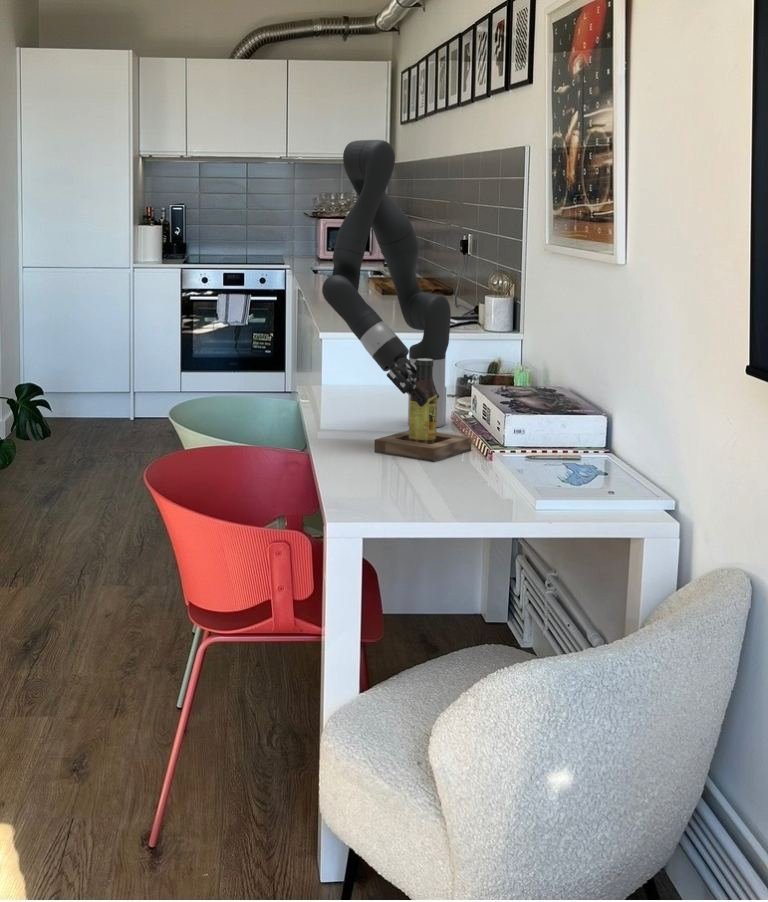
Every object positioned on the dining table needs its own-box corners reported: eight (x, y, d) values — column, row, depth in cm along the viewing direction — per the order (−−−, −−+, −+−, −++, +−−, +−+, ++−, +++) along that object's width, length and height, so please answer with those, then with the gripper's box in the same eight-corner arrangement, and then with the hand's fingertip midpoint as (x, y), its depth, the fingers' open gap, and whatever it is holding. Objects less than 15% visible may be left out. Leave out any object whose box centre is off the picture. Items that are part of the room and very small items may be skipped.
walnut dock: (413, 441, 288) (413, 428, 287) (471, 450, 279) (471, 437, 278) (374, 452, 275) (374, 439, 274) (433, 461, 266) (433, 448, 265)
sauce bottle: (433, 449, 273) (435, 362, 268) (406, 447, 274) (408, 360, 270) (438, 443, 279) (440, 358, 275) (411, 441, 280) (413, 356, 276)
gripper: (381, 338, 268) (429, 396, 266) (407, 332, 281) (453, 386, 278) (359, 360, 271) (406, 417, 269) (386, 353, 284) (432, 407, 282)
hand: (430, 401), depth 274 cm, fingers closed on sauce bottle, 6 cm apart
